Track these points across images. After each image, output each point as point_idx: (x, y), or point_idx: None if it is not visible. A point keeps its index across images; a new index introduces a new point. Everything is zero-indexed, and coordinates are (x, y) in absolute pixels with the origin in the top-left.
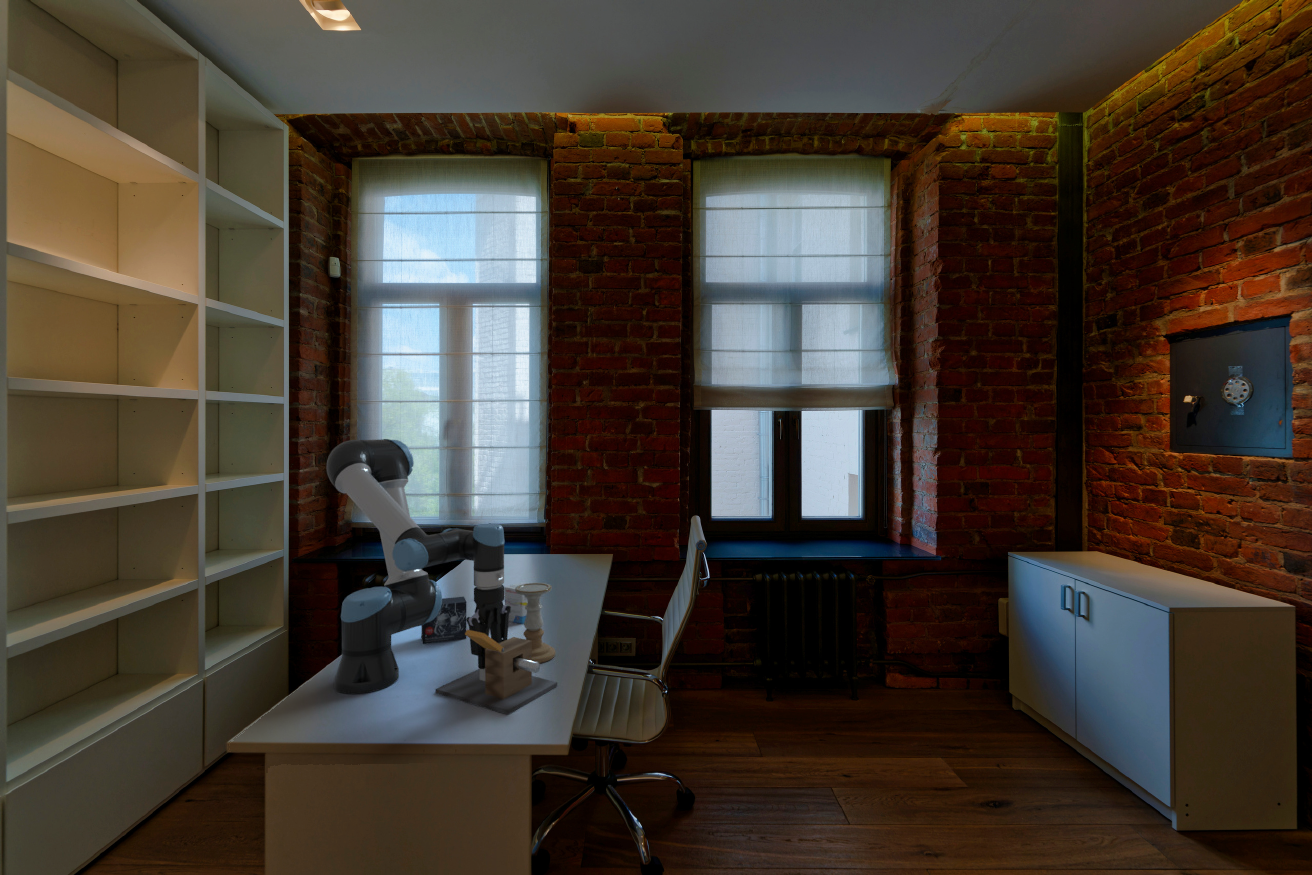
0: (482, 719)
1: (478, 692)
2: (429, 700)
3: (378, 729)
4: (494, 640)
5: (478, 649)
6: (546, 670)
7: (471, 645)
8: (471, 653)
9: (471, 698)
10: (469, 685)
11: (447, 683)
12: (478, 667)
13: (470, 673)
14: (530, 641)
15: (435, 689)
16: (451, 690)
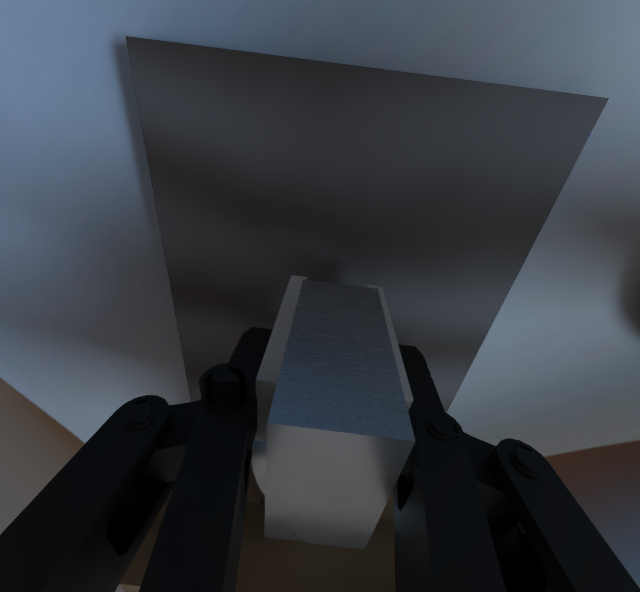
0: (140, 387)
1: (237, 300)
2: (70, 97)
3: None
4: (409, 526)
5: (111, 520)
6: (554, 382)
7: (34, 515)
8: (123, 407)
9: (183, 307)
10: (272, 215)
11: (227, 50)
12: (247, 330)
13: (426, 84)
14: None
15: (128, 38)
16: (178, 165)
